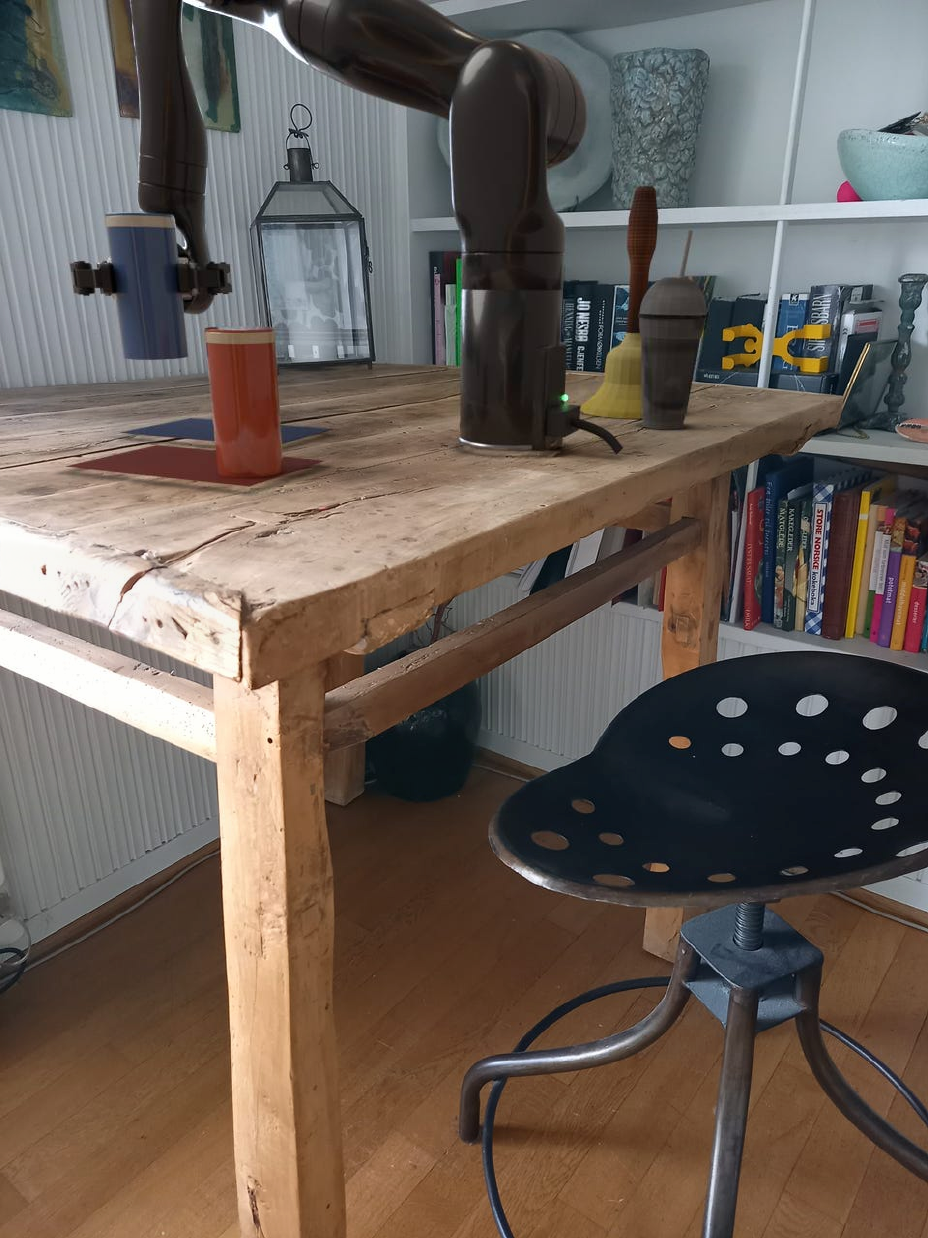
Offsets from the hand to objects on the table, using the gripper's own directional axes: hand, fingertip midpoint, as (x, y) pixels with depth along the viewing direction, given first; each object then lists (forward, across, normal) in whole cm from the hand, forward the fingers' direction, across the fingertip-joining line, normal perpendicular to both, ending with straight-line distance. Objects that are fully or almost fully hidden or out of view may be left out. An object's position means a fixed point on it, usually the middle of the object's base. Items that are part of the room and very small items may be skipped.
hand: (145, 278), depth 72 cm
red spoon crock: (+6, +7, +14) cm, 17 cm away
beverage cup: (-12, +52, +16) cm, 56 cm away
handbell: (-24, +53, +16) cm, 60 cm away
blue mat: (-15, +5, +15) cm, 22 cm away
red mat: (+2, +3, +15) cm, 15 cm away
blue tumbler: (-3, 0, +6) cm, 7 cm away
